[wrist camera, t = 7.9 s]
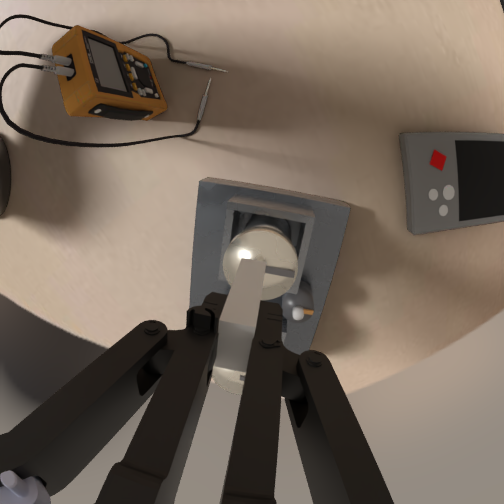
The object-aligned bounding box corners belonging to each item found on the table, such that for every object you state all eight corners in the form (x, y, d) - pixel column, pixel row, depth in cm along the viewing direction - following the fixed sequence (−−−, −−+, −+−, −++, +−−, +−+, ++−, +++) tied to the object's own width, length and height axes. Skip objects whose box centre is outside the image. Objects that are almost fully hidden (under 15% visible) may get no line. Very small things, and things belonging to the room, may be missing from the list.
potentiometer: (280, 303, 29) (278, 326, 25) (285, 277, 28) (285, 298, 24) (308, 308, 29) (310, 331, 25) (315, 283, 28) (318, 304, 24)
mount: (195, 328, 35) (177, 364, 29) (207, 177, 28) (184, 187, 22) (303, 349, 35) (303, 389, 28) (344, 201, 28) (360, 219, 21)
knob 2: (236, 256, 28) (218, 293, 21) (243, 203, 26) (226, 225, 19) (289, 266, 27) (289, 307, 20) (300, 213, 25) (305, 240, 18)
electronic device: (405, 132, 22) (508, 134, 20) (396, 133, 25) (496, 133, 22) (413, 236, 26) (510, 221, 23) (405, 229, 28) (499, 216, 25)
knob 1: (224, 343, 32) (209, 389, 25) (229, 306, 30) (213, 351, 23) (269, 352, 31) (263, 400, 25) (278, 316, 29) (274, 363, 23)
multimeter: (246, 112, 26) (158, 51, 7) (159, 151, 28) (1, 181, 9) (198, 4, 21) (103, -100, 3) (121, 46, 24) (-13, 2, 5)
